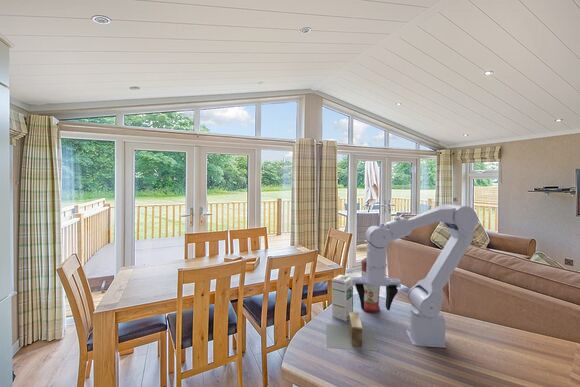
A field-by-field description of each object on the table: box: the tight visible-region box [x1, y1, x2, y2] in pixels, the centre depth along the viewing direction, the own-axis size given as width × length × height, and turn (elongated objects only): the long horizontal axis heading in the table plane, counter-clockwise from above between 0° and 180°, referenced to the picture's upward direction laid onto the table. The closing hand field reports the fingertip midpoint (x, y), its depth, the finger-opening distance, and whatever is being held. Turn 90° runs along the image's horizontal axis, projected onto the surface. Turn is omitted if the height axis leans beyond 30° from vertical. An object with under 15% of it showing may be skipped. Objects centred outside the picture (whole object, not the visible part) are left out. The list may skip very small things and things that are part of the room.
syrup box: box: [331, 274, 354, 322], centre depth 104 cm, size 6×6×14 cm
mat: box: [325, 324, 379, 352], centre depth 91 cm, size 15×13×1 cm
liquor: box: [360, 257, 381, 313], centre depth 108 cm, size 7×7×28 cm
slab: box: [348, 311, 363, 347], centre depth 90 cm, size 3×9×6 cm, turn 173°
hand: (375, 308), depth 89 cm, fingers open, 7 cm apart
